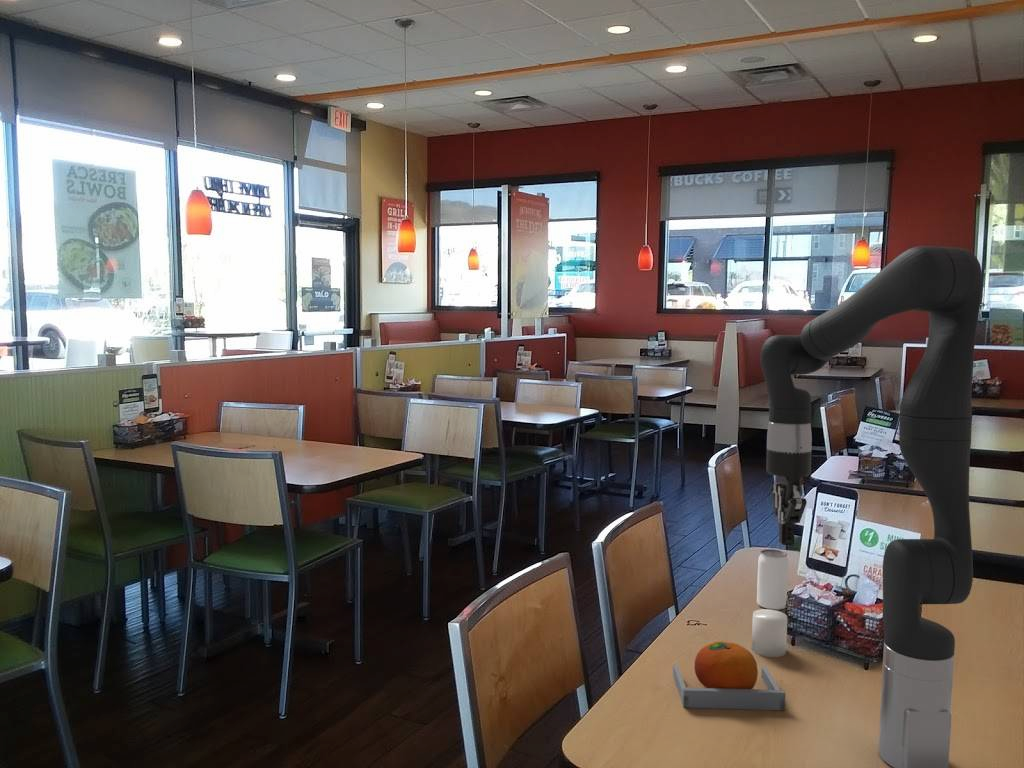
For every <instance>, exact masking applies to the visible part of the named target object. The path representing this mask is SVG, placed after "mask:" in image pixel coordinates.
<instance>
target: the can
mask: <svg viewBox="0 0 1024 768" xmlns="http://www.w3.org/2000/svg"><path fill="white" fill-rule="evenodd" d="M757 562H758V563H757V564H758V565H757V580H756V581H757V583H756V584H757V587H756V604H757V605H758V606H759V607H760V608H761V609H765V608H766V609H771V610H776V611H780V610H781V609H782V610H784V609H785V608H786V607H785V603H786V595H787V592H788V593H789V590H788V589H789V569H790V568H789V567H790V565H789V564H790V561H789V558H788V553H787V552H786V551H784V550H779V549H773V548H772V549H771V548H770V549H769V548H767V549H763V550H760V555H759V556H758V560H757ZM787 596H788V595H787ZM782 610H781V611H782Z"/></svg>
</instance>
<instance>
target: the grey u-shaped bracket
mask: <svg viewBox="0 0 1024 768" xmlns="http://www.w3.org/2000/svg"><path fill="white" fill-rule="evenodd" d="M672 667H673V668H672V677H673V679H674V682H675V684H676V688H677V691H678V694H679V697H680V701H681V703H682V706H683V708H686V709H688V708H689V709H720V710H722V709H723V710H724V709H725V710H726V709H727V710H729V709H730V710H761V711H762V710H764V711H770V710H771V711H785V710H786V709H785V708H786V691H785V690H784V689H780V687H779V686H778V685H777V683H776V681H775V679H774V678H773V676H772V674H771V672H770V670H769V669H768V667H767V666H761V672H760V673H761V674H760V678H761V680H762V681H763V683H764V685H765V686H766V688H767V689H760V688H759V689H758V688H757V689H756V688H755V689H754V688H752V689H721V688H706V687H686V684H685V682H684V678H683V675H682V673H681V670H680V667H679V664H673V665H672Z"/></svg>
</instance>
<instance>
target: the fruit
mask: <svg viewBox="0 0 1024 768" xmlns="http://www.w3.org/2000/svg"><path fill="white" fill-rule="evenodd" d="M693 667H694V673H695V676H696V678H697V680H698V681H699V682H700V684H701V685H702V686H704V688H721V689H754V687H755V686H756V683H757V681H758V673H759V672H758V664H757V661H756V659H755V657H754V655H753V653H751V652H750V651H749V650H748V649H747V648H745V647H743V646H742V645H740V644H738V643H735V642H728V641H715V642H712V643H710V644H707V645H705V646H703V647H701V648H700V649H699V651H698V652H697V654H696V656H695V659H694V666H693Z"/></svg>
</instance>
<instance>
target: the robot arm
mask: <svg viewBox="0 0 1024 768" xmlns="http://www.w3.org/2000/svg"><path fill="white" fill-rule="evenodd" d="M982 293H983V270H982V267H981V263H980V261H979V259H978V258H977V257H976V255H975V254H974V253H973V252H971V251H970V250H969V249H966V248H960V247H953V246H952V247H951V246H936V245H934V246H933V245H917V246H915V247H912V248H908V249H906V251H903V252H902V253H901V254H899V255H898V256H897V257H895V258H894V259H893V260H891V262H889V263H888V264H886V265H885V266H884V268H882V269H881V270H880V271H879V272H878V273H877V274H876V275H875V276H873V277H872V278H871V279H870V280H869V281H867V282H866V283H865V284H864V285H863V286H861V287H860V288H859V289H857V291H855V292H854V293H853V294H852V295H850V296H849V297H848V298H846V299H845V300H843V301H842V302H841V303H839V304H837V305H836V306H834V307H832V308H830V309H829V310H827V311H825V312H823V313H822V314H820V315H818V316H816V317H815V318H813V319H812V320H810V321H808V322H807V323H806V324H805V325H804V327H803V328H802V330H801V332H800V334H784V335H783V334H775V335H772V336H770V337H768V338H767V339H766V340H765V341H764V343H763V345H762V347H761V349H760V350H761V351H760V356H759V357H760V358H759V359H760V366H761V371H762V374H763V378H764V382H765V387H766V391H767V395H768V400H769V405H768V427H767V435H766V461H765V462H766V472H767V474H769V475H772V476H775V480H774V481H775V483H773V485H772V486H771V485H770V488H769V489H770V494H771V501H772V504H773V506H772V507H773V510H774V516H775V517H777V521H778V522H779V527H778V528H779V531H778V532H779V534H778V536H779V537H778V538H779V539H778V540H779V543H780V544H782V545H783V546H793V545H794V544H795V525H797V524H800V522H801V520H802V518H803V514H804V511H805V509H806V506H807V502H808V501H807V498H805V497H804V498H802V496H803V490H804V489H803V486H802V483H801V479H802V478H805V477H808V476H810V475H811V473H812V441H813V437H812V435H813V434H812V427H811V422H812V420H811V419H812V397H811V394H810V392H809V391H808V390H805V389H802V388H799V387H795V385H794V381H793V378H792V376H801V375H802V376H804V375H809V374H813V373H815V372H817V371H819V370H821V369H822V368H823V367H824V366H825V365H827V364H828V362H829V361H830V360H832V358H834V357H835V356H837V355H839V354H841V353H843V352H845V351H846V350H849V349H851V348H854V347H855V346H857V345H858V344H859V343H861V342H863V341H864V340H865V339H866V338H867V337H868V336H869V334H870V333H871V331H872V330H873V328H874V327H875V326H876V324H878V323H879V322H880V321H882V320H884V319H886V318H888V317H893V316H894V315H899V314H901V313H904V312H905V313H906V312H909V311H915V312H928V315H929V319H928V320H929V323H928V324H929V325H928V338H927V343H926V347H925V350H924V354H923V356H922V358H921V360H920V362H919V365H918V366H917V367H916V370H915V371H914V373H913V375H912V377H911V378H910V380H909V383H908V384H907V386H906V388H905V390H904V393H903V394H902V396H901V397H902V398H901V401H900V407H899V430H898V432H899V433H898V435H899V436H898V444H899V445H898V446H899V450H900V453H901V455H902V458H903V459H904V461H905V463H906V465H907V467H908V468H909V471H911V473H912V474H913V476H914V478H915V479H916V481H917V482H918V484H919V485H920V487H921V488H922V490H923V492H924V494H925V495H926V497H927V499H928V502H929V505H930V507H931V512H932V517H933V526H934V529H933V530H934V532H933V534H934V535H933V538H901V539H900V538H899V539H894V540H891V541H890V542H889V543H888V545H887V546H886V548H885V551H884V554H883V558H882V559H883V560H882V624H883V630H884V632H883V633H884V638H883V639H884V640H883V655H882V658H883V659H882V671H881V673H882V674H881V675H882V676H881V690H880V691H881V693H880V711H879V713H880V714H879V734H878V755H879V757H880V758H881V759H882V761H883V762H885V763H886V764H888V765H889V766H891V767H892V768H949V766H950V765H949V764H950V763H949V761H950V748H951V730H952V717H953V716H952V714H951V711H952V710H951V709H952V692H953V679H954V678H953V677H954V664H955V663H954V661H955V649H956V648H955V647H956V640H955V636H954V634H953V632H952V631H951V630H950V629H948V628H947V627H945V626H944V625H942V624H940V623H938V622H935V621H934V620H933V621H932V620H931V619H927V618H924V617H921V611H920V610H921V609H920V608H921V606H920V605H957V604H961V603H964V602H965V601H966V600H967V599H968V598H969V595H970V594H971V591H972V586H973V581H974V580H973V579H974V565H973V563H974V562H973V544H972V543H973V541H972V529H971V515H970V514H971V513H970V466H971V465H970V461H971V460H970V459H971V448H972V447H971V446H972V443H971V442H972V426H973V425H972V422H973V421H972V419H973V418H972V417H973V415H972V414H973V412H972V409H973V408H972V407H973V406H972V393H973V390H972V389H973V375H974V371H973V370H974V358H975V357H974V356H975V355H974V354H975V353H974V352H975V343H976V336H977V329H978V321H979V315H980V309H981V301H982Z"/></svg>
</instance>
